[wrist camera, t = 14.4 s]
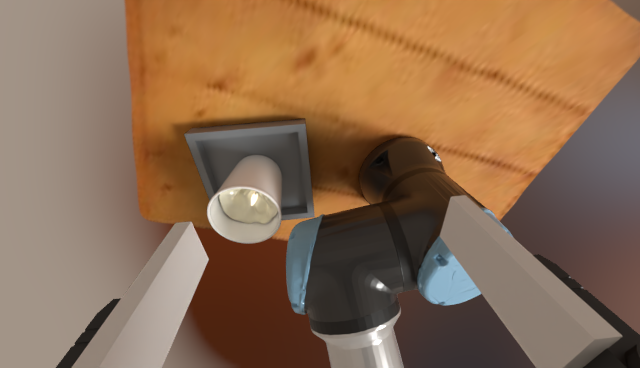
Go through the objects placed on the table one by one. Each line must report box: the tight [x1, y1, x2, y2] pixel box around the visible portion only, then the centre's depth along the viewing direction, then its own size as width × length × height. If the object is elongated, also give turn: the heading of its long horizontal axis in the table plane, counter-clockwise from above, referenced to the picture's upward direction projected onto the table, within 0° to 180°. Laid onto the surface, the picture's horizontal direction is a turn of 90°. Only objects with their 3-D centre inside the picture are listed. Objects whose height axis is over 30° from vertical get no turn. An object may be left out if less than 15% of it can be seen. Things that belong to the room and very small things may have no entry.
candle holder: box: [207, 155, 282, 243], centre depth 36 cm, size 10×10×12 cm
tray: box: [184, 119, 314, 220], centre depth 41 cm, size 18×18×3 cm
